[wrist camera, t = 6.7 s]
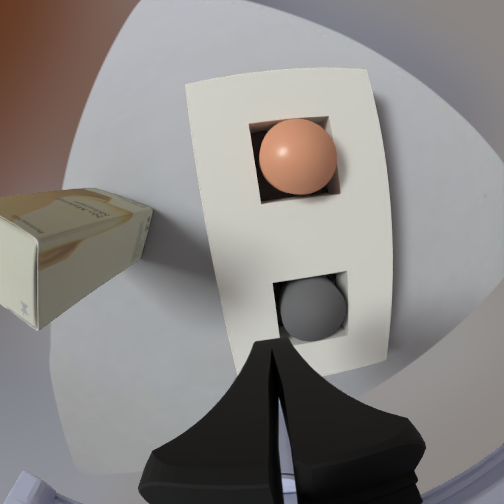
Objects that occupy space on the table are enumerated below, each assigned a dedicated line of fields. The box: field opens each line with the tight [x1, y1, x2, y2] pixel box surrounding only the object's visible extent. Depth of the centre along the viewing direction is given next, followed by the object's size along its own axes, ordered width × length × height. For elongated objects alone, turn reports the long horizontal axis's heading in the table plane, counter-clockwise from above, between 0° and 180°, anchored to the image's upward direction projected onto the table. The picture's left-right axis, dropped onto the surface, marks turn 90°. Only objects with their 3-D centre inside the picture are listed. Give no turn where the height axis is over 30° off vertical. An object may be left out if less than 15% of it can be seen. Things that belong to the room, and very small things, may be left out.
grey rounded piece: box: [278, 275, 346, 342], centre depth 19 cm, size 4×4×3 cm
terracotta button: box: [259, 119, 337, 195], centre depth 16 cm, size 4×4×3 cm
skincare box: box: [0, 188, 153, 331], centre depth 13 cm, size 6×4×12 cm
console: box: [185, 68, 393, 376], centre depth 18 cm, size 22×12×3 cm, turn 9°
